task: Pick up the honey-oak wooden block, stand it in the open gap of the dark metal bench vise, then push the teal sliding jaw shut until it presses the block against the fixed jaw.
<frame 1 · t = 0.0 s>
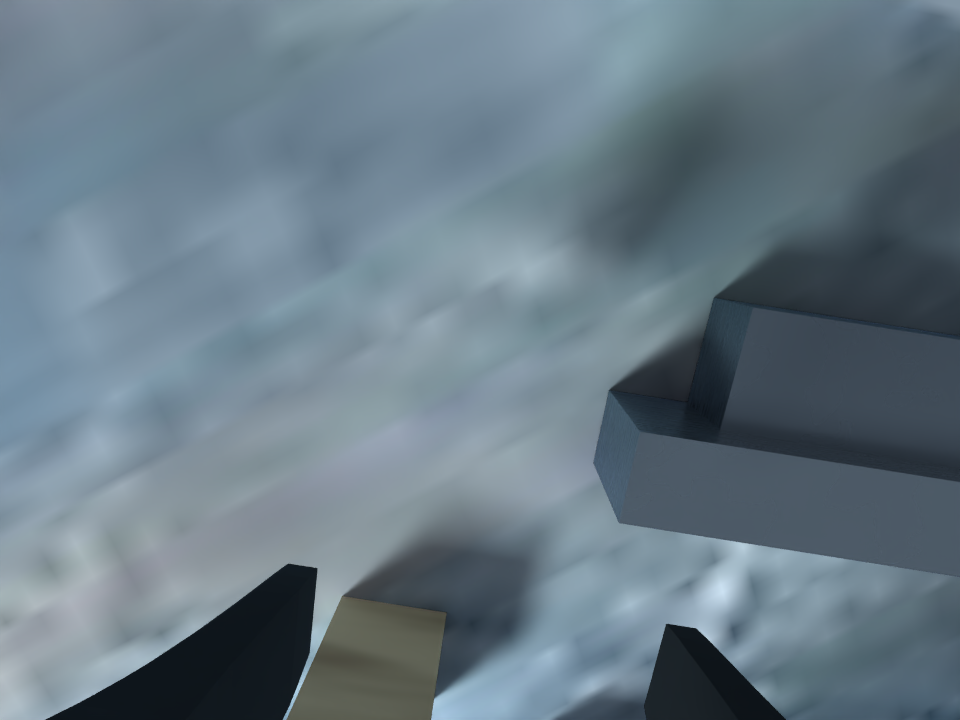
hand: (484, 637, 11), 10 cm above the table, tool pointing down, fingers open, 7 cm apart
vise: (778, 629, 22), on the table
oak block: (388, 648, 23), on the table
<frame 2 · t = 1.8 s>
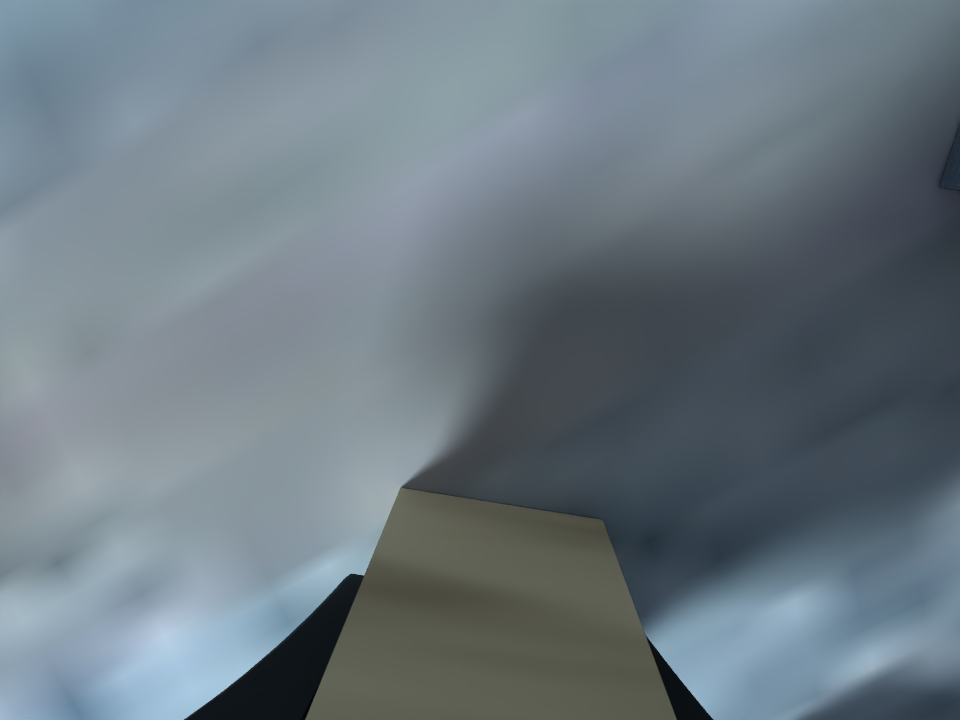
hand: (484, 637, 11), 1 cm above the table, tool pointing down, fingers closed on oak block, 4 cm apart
oak block: (485, 592, 12), on the table, touching gripper
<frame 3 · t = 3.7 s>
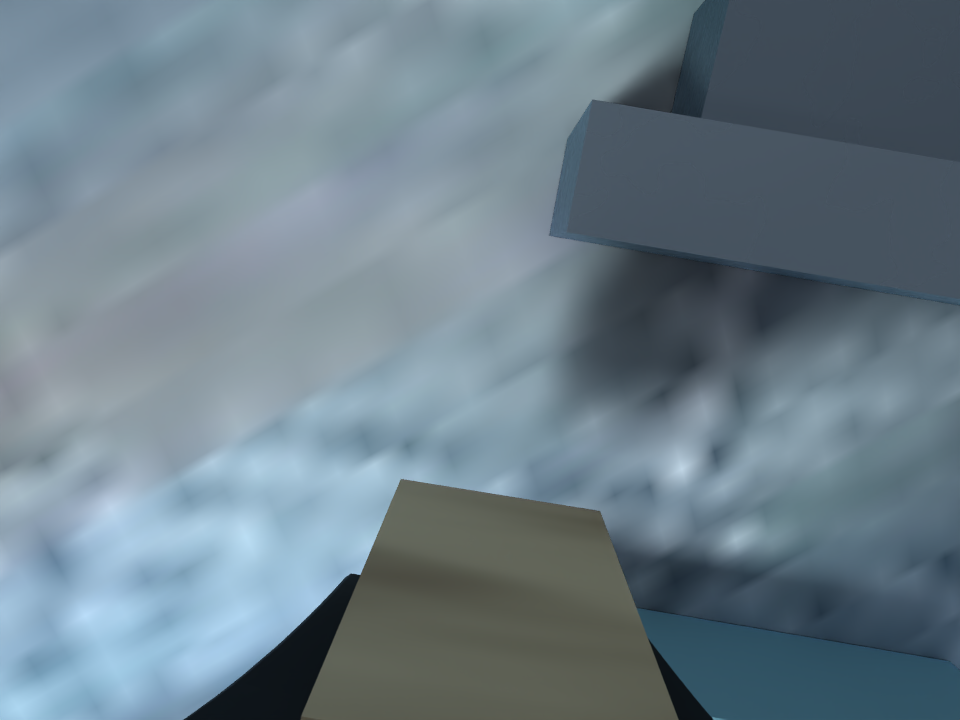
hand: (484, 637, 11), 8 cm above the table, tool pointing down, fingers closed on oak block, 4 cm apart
vise: (768, 451, 18), on the table
oak block: (484, 582, 12), point 7 cm above the table, touching gripper
sliding jaw: (727, 716, 18), point 2 cm above the table, slide at 0.0 cm
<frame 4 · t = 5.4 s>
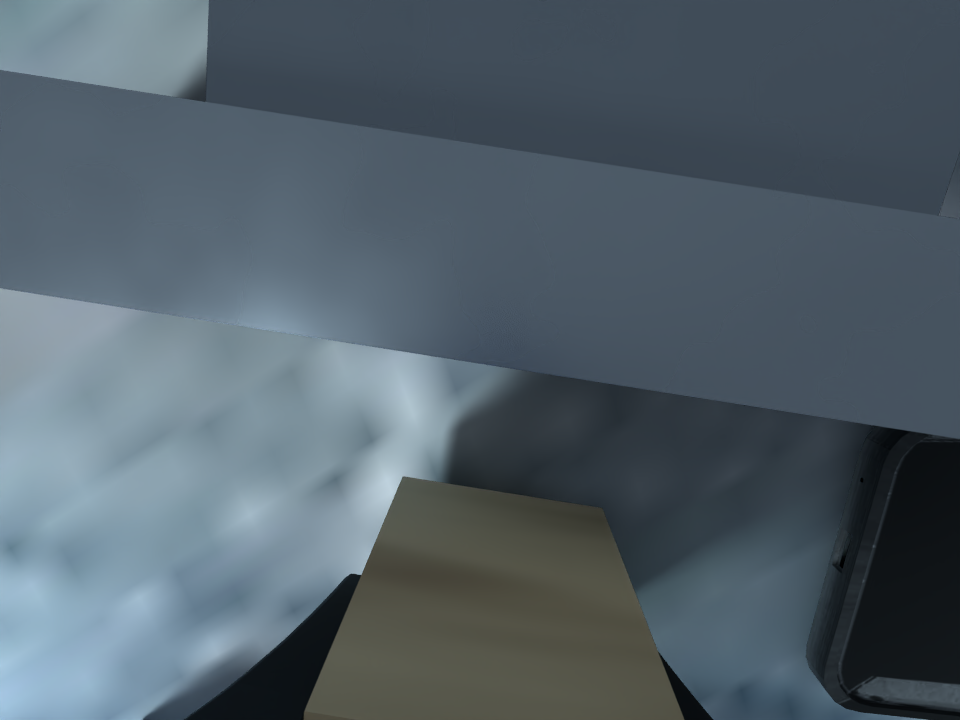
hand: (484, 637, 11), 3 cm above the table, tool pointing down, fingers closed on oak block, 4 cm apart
vise: (487, 554, 13), on the table
oak block: (486, 580, 12), point 1 cm above the table, touching gripper
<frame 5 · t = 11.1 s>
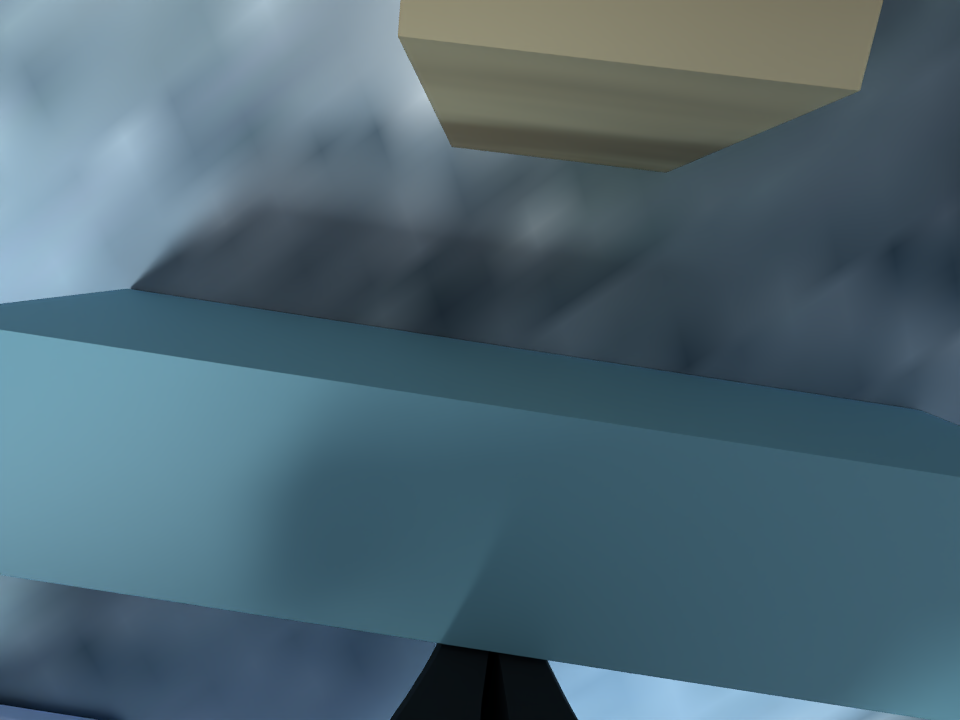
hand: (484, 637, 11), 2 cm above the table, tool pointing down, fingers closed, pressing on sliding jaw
oak block: (575, 41, 10), on the table
sliding jaw: (510, 473, 10), point 2 cm above the table, slide at 0.8 cm, touching gripper
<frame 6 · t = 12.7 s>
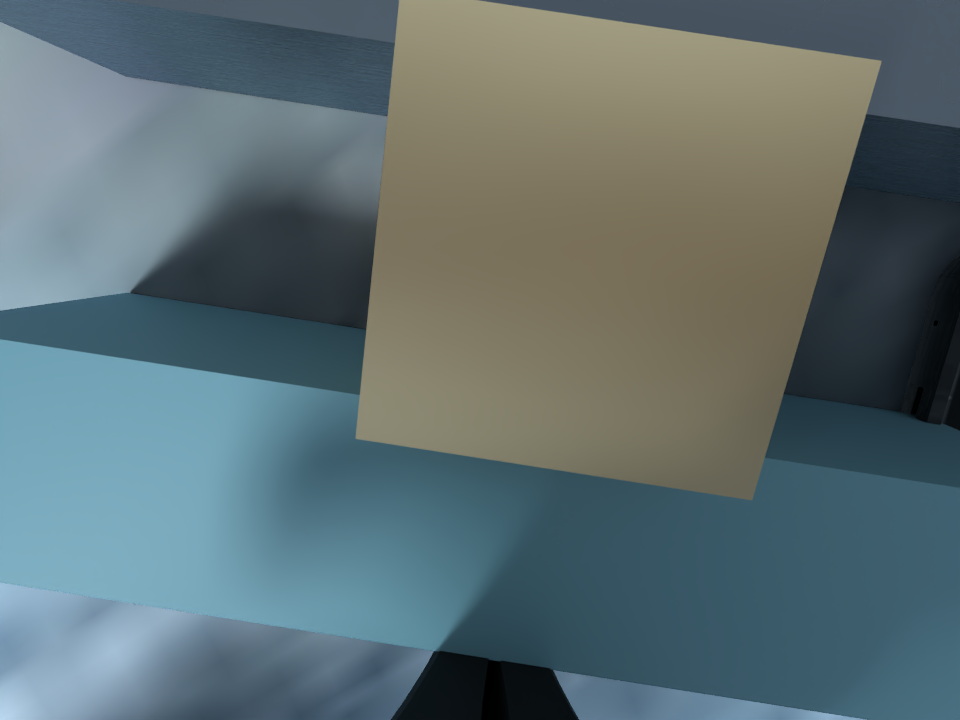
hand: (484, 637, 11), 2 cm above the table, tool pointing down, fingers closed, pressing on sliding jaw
vise: (512, 417, 12), on the table
oak block: (545, 253, 11), on the table, touching sliding jaw, vise
sliding jaw: (510, 480, 10), point 2 cm above the table, slide at 8.5 cm, touching gripper, oak block
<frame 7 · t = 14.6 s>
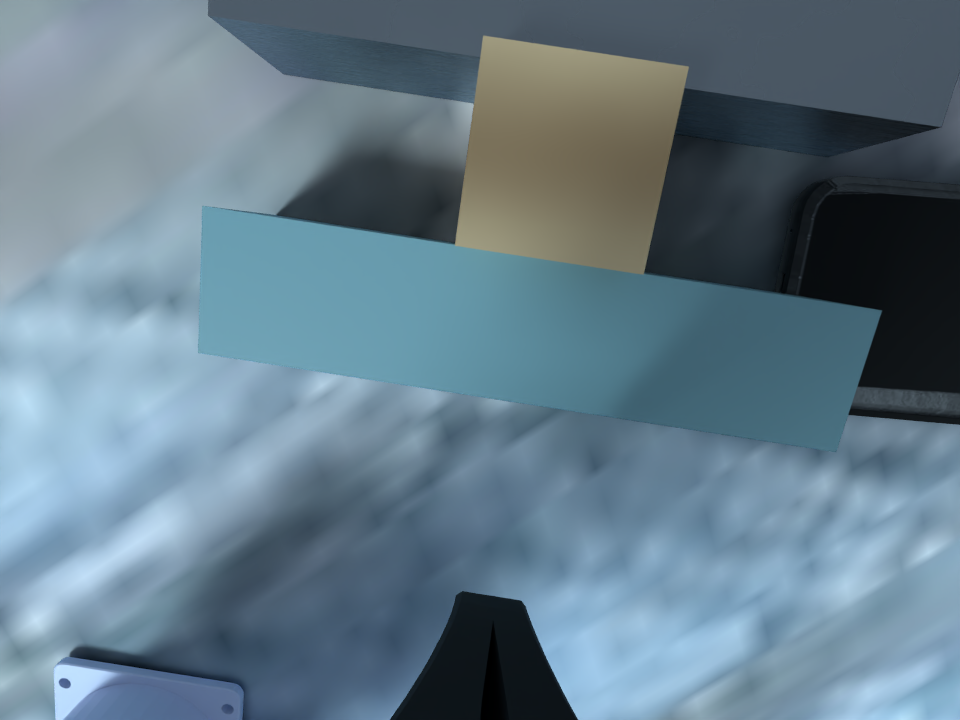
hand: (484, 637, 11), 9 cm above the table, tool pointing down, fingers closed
vise: (524, 297, 18), on the table
oak block: (545, 187, 18), on the table, touching sliding jaw
sliding jaw: (524, 320, 16), point 2 cm above the table, slide at 8.5 cm, touching oak block
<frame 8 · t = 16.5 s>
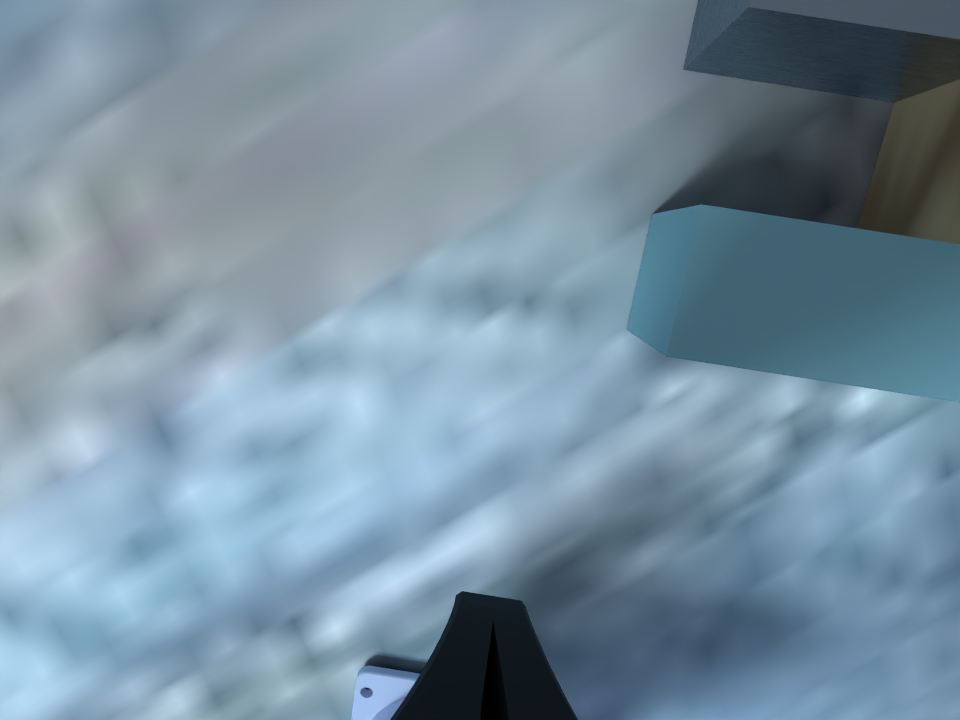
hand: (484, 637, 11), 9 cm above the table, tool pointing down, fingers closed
vise: (901, 299, 18), on the table
oak block: (939, 186, 17), on the table
sliding jaw: (951, 323, 16), point 2 cm above the table, slide at 8.5 cm
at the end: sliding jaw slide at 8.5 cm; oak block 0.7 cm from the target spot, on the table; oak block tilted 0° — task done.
